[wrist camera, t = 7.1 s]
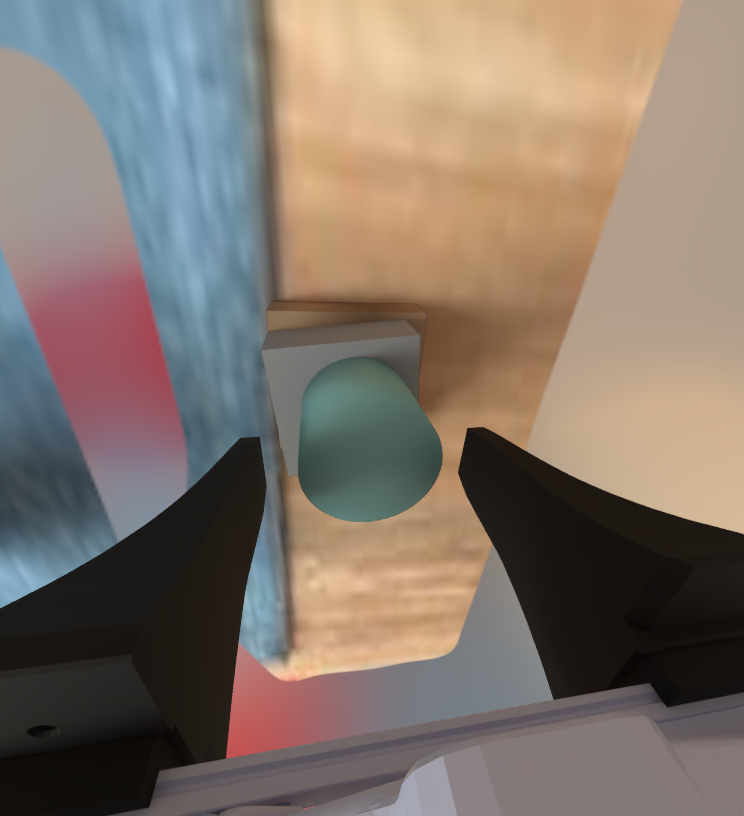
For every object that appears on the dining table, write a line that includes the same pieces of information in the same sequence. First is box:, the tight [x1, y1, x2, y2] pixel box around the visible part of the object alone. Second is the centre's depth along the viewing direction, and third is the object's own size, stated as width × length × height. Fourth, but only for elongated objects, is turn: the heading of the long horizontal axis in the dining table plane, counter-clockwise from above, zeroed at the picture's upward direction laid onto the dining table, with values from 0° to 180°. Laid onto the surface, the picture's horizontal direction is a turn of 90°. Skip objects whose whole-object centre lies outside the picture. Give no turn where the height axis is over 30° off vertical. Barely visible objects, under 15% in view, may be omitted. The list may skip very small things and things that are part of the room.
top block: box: [261, 319, 420, 476], centre depth 15 cm, size 6×6×2 cm
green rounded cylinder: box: [298, 357, 443, 522], centre depth 12 cm, size 5×5×4 cm
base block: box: [266, 301, 427, 448], centre depth 17 cm, size 7×7×2 cm
